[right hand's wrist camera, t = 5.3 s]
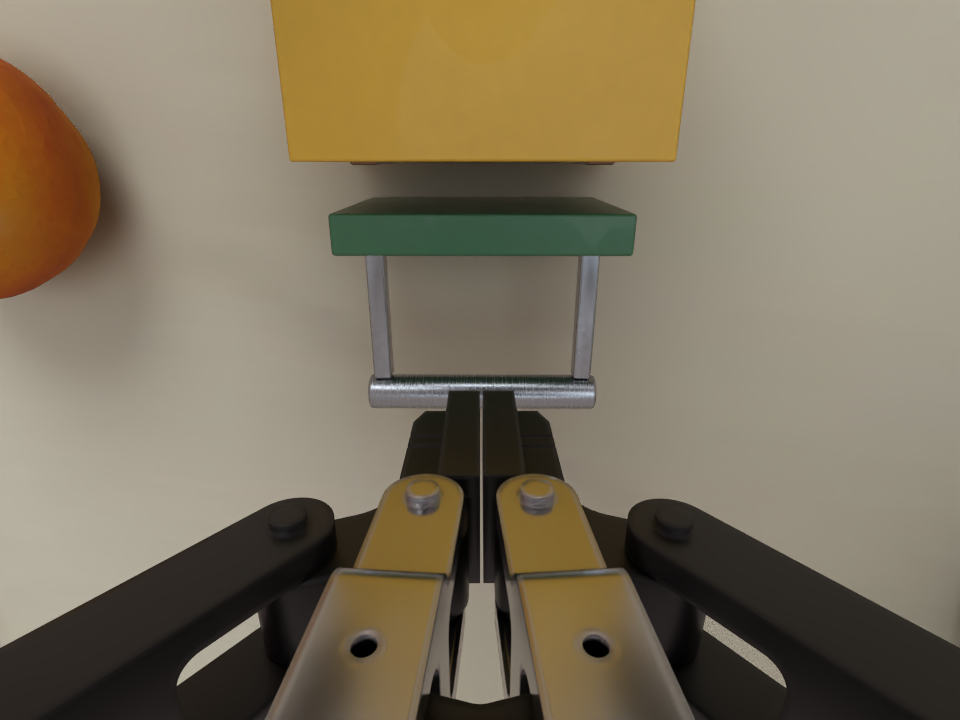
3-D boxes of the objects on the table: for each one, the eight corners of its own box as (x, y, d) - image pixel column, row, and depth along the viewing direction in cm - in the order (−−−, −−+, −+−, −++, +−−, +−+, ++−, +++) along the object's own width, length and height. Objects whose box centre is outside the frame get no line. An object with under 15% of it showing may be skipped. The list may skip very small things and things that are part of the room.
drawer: (582, 360, 24) (615, 430, 18) (382, 360, 24) (348, 429, 18) (620, -164, 17) (694, -336, 11) (346, -163, 17) (273, -333, 11)
